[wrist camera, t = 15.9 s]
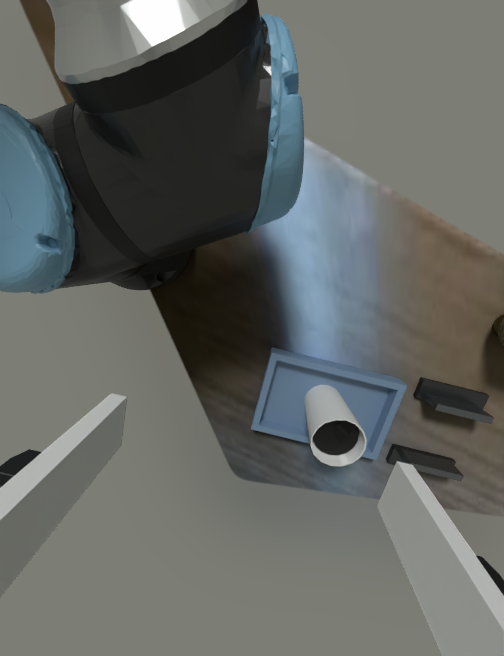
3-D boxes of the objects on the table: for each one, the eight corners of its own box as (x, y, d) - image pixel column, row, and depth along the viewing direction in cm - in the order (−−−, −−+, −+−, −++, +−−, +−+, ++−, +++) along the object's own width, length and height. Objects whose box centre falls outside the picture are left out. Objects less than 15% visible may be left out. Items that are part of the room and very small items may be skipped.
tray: (271, 347, 42) (271, 352, 39) (399, 378, 41) (407, 385, 39) (251, 420, 45) (250, 429, 42) (370, 449, 45) (376, 460, 42)
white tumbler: (319, 373, 41) (334, 408, 32) (353, 397, 42) (378, 438, 32) (292, 405, 43) (299, 447, 33) (326, 428, 44) (342, 475, 34)
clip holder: (420, 377, 41) (436, 389, 37) (485, 393, 41) (507, 407, 37) (386, 458, 45) (397, 477, 41) (445, 473, 45) (461, 493, 41)
